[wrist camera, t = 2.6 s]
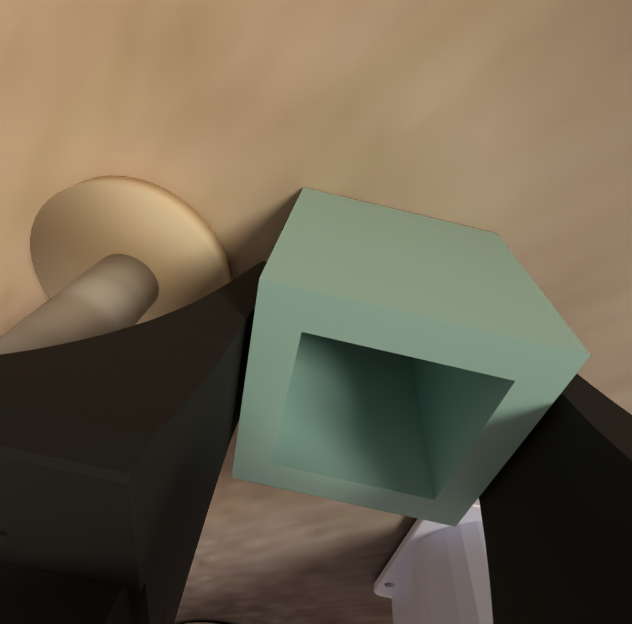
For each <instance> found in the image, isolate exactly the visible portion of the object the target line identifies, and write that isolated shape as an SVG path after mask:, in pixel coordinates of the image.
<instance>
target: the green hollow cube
mask: <svg viewBox="0 0 632 624" xmlns="http://www.w3.org/2000/svg"><path fill="white" fill-rule="evenodd" d="M590 356H591V355H590V354H589V352H588V351H587V350H586V348H585V347H584V346H583V344H582V343H581V342H580V341H579V339H578V338H577V337H576V335H575V334H574V333H573V331H572V330H571V329H570V327H569V326H568V325H567V324H566V322H565V321H564V320H563V318H562V317H561V316H560V314H559V313H558V312H557V311H556V309H555V308H554V307H553V305H552V304H551V303H550V301H549V300H548V299H547V297H546V296H545V295H544V294H543V292H542V291H541V290H540V288H539V287H538V286H537V284H536V283H535V282H534V280H533V279H532V278H531V277H530V275H529V274H528V273H527V271H526V270H525V269H524V267H523V266H522V265H521V264H520V262H519V261H518V260H517V258H516V257H515V256H514V254H513V253H512V252H511V250H510V249H509V248H508V247H507V245H506V244H505V243H504V241H503V240H502V239H501V237H500V236H499V235H498V234H497V233H492V232H488V231H484V230H480V229H476V228H471V227H467V226H463V225H459V224H455V223H451V222H446V221H442V220H438V219H434V218H430V217H426V216H421V215H417V214H413V213H409V212H405V211H400V210H396V209H392V208H388V207H384V206H380V205H375V204H371V203H367V202H363V201H359V200H354V199H350V198H346V197H342V196H338V195H334V194H329V193H325V192H321V191H317V190H313V189H308V188H304V187H303V189H302V191H301V193H300V195H299V197H298V199H297V201H296V203H295V206H294V208H293V210H292V212H291V214H290V216H289V218H288V220H287V222H286V224H285V226H284V228H283V230H282V232H281V234H280V237H279V239H278V241H277V243H276V245H275V247H274V249H273V251H272V253H271V255H270V257H269V259H268V261H267V263H266V266H265V268H264V270H263V272H262V274H261V276H260V278H259V284H258V292H257V299H256V306H255V313H254V320H253V327H252V334H251V341H250V348H249V355H248V363H247V370H246V377H245V384H244V391H243V398H242V405H241V412H240V419H239V426H238V434H237V441H236V448H235V455H234V462H233V469H232V476H231V478H236V479H240V480H245V481H249V482H254V483H259V484H263V485H268V486H272V487H277V488H281V489H286V490H290V491H295V492H299V493H304V494H309V495H313V496H318V497H322V498H327V499H331V500H336V501H340V502H345V503H350V504H354V505H359V506H363V507H368V508H372V509H377V510H381V511H386V512H390V513H395V514H400V515H404V516H409V517H413V518H418V519H422V520H427V521H431V522H436V523H440V524H445V525H450V526H454V527H456V526H457V524H458V523H459V522H460V521H461V519H462V518H463V517H464V515H465V514H466V513H467V512H468V510H469V509H470V508H471V507H472V505H473V504H474V503H475V502H476V500H477V499H478V498H479V496H480V495H481V494H482V493H483V491H484V490H485V489H486V488H487V486H488V485H489V484H490V483H491V481H492V480H493V479H494V477H495V476H496V475H497V474H498V472H499V471H500V470H501V469H502V467H503V466H504V465H505V464H506V462H507V461H508V460H509V458H510V457H511V456H512V455H513V453H514V452H515V451H516V450H517V448H518V447H519V446H520V445H521V443H522V442H523V441H524V439H525V438H526V437H527V436H528V434H529V433H530V432H531V431H532V429H533V428H534V427H535V426H536V424H537V423H538V422H539V420H540V419H541V418H542V417H543V415H544V414H545V413H546V412H547V410H548V409H549V408H550V407H551V405H552V404H553V403H554V401H555V400H556V399H557V398H558V396H559V395H560V394H561V393H562V391H563V390H564V389H565V387H566V386H567V385H568V384H569V382H570V381H571V380H572V379H573V377H574V376H575V375H576V374H577V372H578V371H579V370H580V368H581V367H582V366H583V365H584V363H585V362H586V361H587V360H588V358H589V357H590Z"/></svg>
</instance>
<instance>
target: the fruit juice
mask: <svg viewBox="0 0 632 624" xmlns="http://www.w3.org/2000/svg"><path fill="white" fill-rule="evenodd" d="M185 624H219V623H209V622H192V623H185Z"/></svg>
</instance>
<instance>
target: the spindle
mask: <svg viewBox="0 0 632 624" xmlns="http://www.w3.org/2000/svg"><path fill="white" fill-rule="evenodd" d="M30 250H31V256H32V261H33V265H34V268H35V271H36V274H37V276H38V278H39V281H40V283H41V285H42V286H43V288H44V290H45V292H46V293H47V295H48V296H49V298H50V299H49V300H48V301H47V302H45V303H44V304H43V305H42V306H40V307H39V308H38V309H36V310H35V311H34V312H32V313H31V314H30V315H28V316H27V317H26V318H24V319H23V320H22V321H20V322H19V323H18V324H16V325H15V326H14V327H13V328H11V329H10V330H9V331H7V332H6V333H5V334H3V335H2V336H1V337H0V355H1V354H7V353H14V352H21V351H27V350H33V349H39V348H44V347H50V346H55V345H59V344H64V343H69V342H74V341H78V340H83V339H87V338H91V337H95V336H99V335H103V334H107V333H110V332H114V331H117V330H120V329H123V328H127V327H130V326H133V325H136V324H140V323H143V322H146V321H149V320H152V319H155V318H158V317H160V316H163V315H165V314H168V313H170V312H173V311H175V310H178V309H180V308H182V307H184V306H187V305H189V304H191V303H193V302H195V301H197V300H199V299H201V298H203V297H204V296H206V295H208V294H210V293H212V292H214V291H216V290H217V289H219V288H221V287H222V286H224V285H226V284H227V283H229V282H231V273H230V267H229V263H228V260H227V257H226V254H225V252H224V249H223V247H222V245H221V243H220V241H219V240H218V238H217V236H216V235H215V233H214V232H213V230H212V229H211V228H210V226H209V225H208V224H207V222H206V221H205V220H204V219H203V218H202V217H201V216H200V215H199V214H198V213H197V212H196V211H195V210H194V209H193V208H192V207H191V206H190V205H188V204H187V203H186V202H184V201H183V200H182V199H180V198H179V197H178V196H176V195H174V194H173V193H171V192H169V191H167V190H166V189H164V188H162V187H160V186H157V185H155V184H153V183H150V182H147V181H144V180H140V179H137V178H132V177H126V176H102V177H96V178H92V179H89V180H86V181H83V182H81V183H79V184H76V185H74V186H72V187H69V188H67V189H65V190H63V191H61V192H59V193H57V194H56V195H54V196H53V197H51V198H50V199H49V200H48V201H47V202H46V203H45V204H44V205H43V206H42V207H41V209H40V210H39V212H38V214H37V215H36V217H35V220H34V223H33V226H32V230H31V237H30Z"/></svg>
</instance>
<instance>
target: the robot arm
mask: <svg viewBox="0 0 632 624" xmlns="http://www.w3.org/2000/svg"><path fill="white" fill-rule="evenodd" d="M266 263H267V262H264V261H262V262H260V263H258V264H257V265H255V266H253V267H252V268H250V269H249V270H247V271H246V272H244V273H243V274H241V275H240V276H238V277H237V278H235V279H234V280H232V281H231V282H229V283H227V284H226V285H224V286H222V287H221V288H219V289H217V290H216V291H214V292H212V293H210V294H208V295H206V296H204V297H203V298H201V299H199V300H197V301H195V302H193V303H191V304H189V305H187V306H184V307H182V308H180V309H178V310H175V311H173V312H170V313H168V314H165V315H163V316H160V317H158V318H155V319H152V320H149V321H146V322H143V323H140V324H136V325H133V326H130V327H127V328H123V329H120V330H117V331H114V332H110V333H107V334H103V335H99V336H95V337H91V338H87V339H83V340H78V341H74V342H69V343H64V344H59V345H55V346H50V347H44V348H39V349H33V350H27V351H21V352H14V353H7V354H1V355H0V624H174V621H175V618H176V614H177V611H178V608H179V604H180V601H181V598H182V594H183V591H184V587H185V584H186V581H187V577H188V574H189V571H190V567H191V564H192V561H193V558H194V554H195V551H196V548H197V544H198V541H199V538H200V535H201V531H202V528H203V525H204V522H205V518H206V515H207V512H208V509H209V506H210V502H211V499H212V496H213V493H214V490H215V487H216V483H217V480H218V477H219V474H220V471H221V468H222V465H223V462H224V458H225V455H226V452H227V449H228V446H229V443H230V441H231V438H232V435H233V433H234V430H235V428H236V425H237V423H238V421H239V418H240V412H241V405H242V398H243V391H244V384H245V377H246V370H247V363H248V355H249V348H250V341H251V334H252V327H253V320H254V313H255V306H256V299H257V292H258V284H259V278H260V276H261V274H262V272H263V270H264V268H265V266H266ZM374 592H375V594H377V595H378V596H382V597H386V598H391V599H392V617H393V624H632V415H631V414H630V413H628V412H627V411H625V410H624V409H623V408H621V407H620V406H618V405H617V404H616V403H614V402H613V401H612V400H610V399H609V398H608V397H606V396H605V395H604V394H602V393H601V392H600V391H598V390H597V389H596V388H595V387H593V386H592V385H591V384H589V383H588V382H587V381H586V380H584V379H583V378H582V377H580V376H579V375H578V374H576V375H575V376H574V377H573V379H572V380H571V381H570V382H569V384H568V385H567V386H566V387H565V389H564V390H563V391H562V393H561V394H560V395H559V396H558V398H557V399H556V400H555V401H554V403H553V404H552V405H551V407H550V408H549V409H548V410H547V412H546V413H545V414H544V415H543V417H542V418H541V419H540V420H539V422H538V423H537V424H536V426H535V427H534V428H533V429H532V431H531V432H530V433H529V434H528V436H527V437H526V438H525V439H524V441H523V442H522V443H521V445H520V446H519V447H518V448H517V450H516V451H515V452H514V453H513V455H512V456H511V457H510V458H509V460H508V461H507V462H506V464H505V465H504V466H503V467H502V469H501V470H500V471H499V472H498V474H497V475H496V476H495V477H494V479H493V480H492V481H491V483H490V484H489V485H488V486H487V488H486V489H485V490H484V491H483V493H482V494H481V495H480V496H479V498H478V499H477V500H476V502H475V503H474V504H473V505H472V507H471V508H470V509H469V510H468V512H467V513H466V514H465V515H464V517H463V518H462V519H461V521H460V522H459V523H458V524H457V526H456V527H454V526H450V525H445V524H440V523H436V522H431V521H427V520H422V519H417V520H416V522H415V523H414V525H413V526H412V528H411V529H410V531H409V532H408V534H407V535H406V537H405V538H404V540H403V541H402V543H401V544H400V546H399V547H398V549H397V550H396V552H395V553H394V555H393V556H392V558H391V559H390V561H389V562H388V564H387V565H386V567H385V568H384V570H383V571H382V573H381V574H380V576H379V577H378V579H377V580H376V582H375V583H374Z"/></svg>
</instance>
